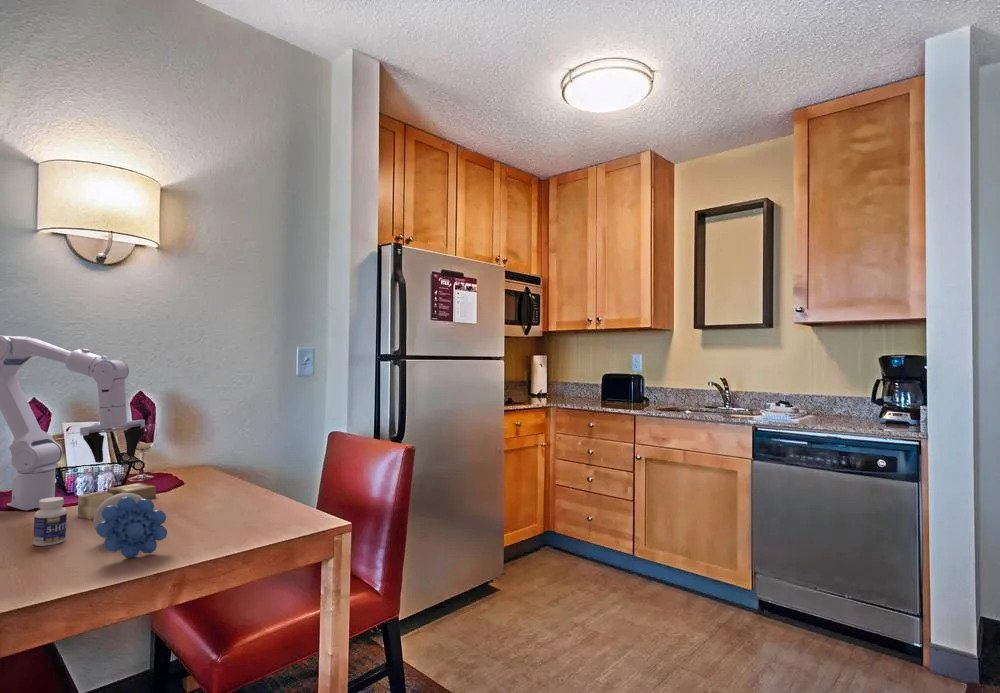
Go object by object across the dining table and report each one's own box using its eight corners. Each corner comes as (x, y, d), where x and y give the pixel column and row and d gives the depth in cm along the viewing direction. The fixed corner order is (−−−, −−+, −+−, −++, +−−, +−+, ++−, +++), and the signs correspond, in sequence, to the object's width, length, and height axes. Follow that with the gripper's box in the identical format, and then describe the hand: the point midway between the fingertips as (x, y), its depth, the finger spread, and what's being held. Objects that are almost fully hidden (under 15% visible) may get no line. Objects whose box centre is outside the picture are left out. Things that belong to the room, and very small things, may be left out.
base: (107, 499, 148) (107, 488, 148) (138, 493, 155) (138, 482, 155) (124, 504, 144) (125, 492, 144) (155, 497, 152) (156, 486, 152)
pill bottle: (47, 547, 112) (48, 503, 112) (26, 545, 113) (27, 501, 113) (72, 539, 117) (73, 497, 118) (52, 537, 118) (53, 495, 119)
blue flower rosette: (96, 571, 101) (98, 505, 101) (94, 560, 106) (96, 497, 106) (170, 558, 108) (172, 496, 108) (164, 548, 113) (166, 489, 113)
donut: (93, 547, 113) (95, 498, 113) (90, 543, 115) (92, 495, 115) (150, 537, 120) (152, 490, 120) (146, 533, 122) (148, 487, 122)
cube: (77, 516, 134) (78, 495, 134) (100, 511, 138) (101, 491, 138) (89, 519, 131) (89, 498, 131) (111, 514, 136) (112, 493, 136)
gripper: (89, 409, 135) (92, 465, 135) (150, 403, 148) (153, 454, 148) (74, 409, 138) (77, 464, 138) (135, 403, 151) (137, 453, 151)
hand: (115, 459), depth 143 cm, fingers open, 7 cm apart
